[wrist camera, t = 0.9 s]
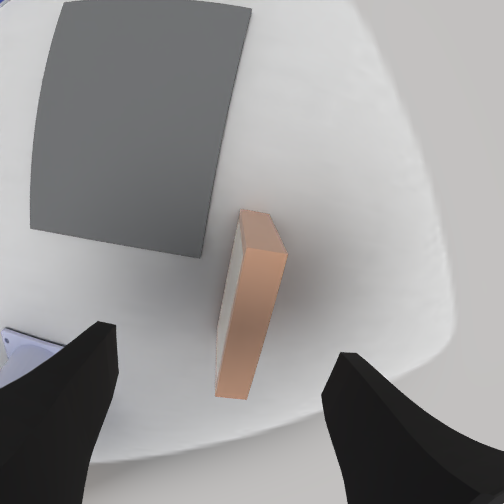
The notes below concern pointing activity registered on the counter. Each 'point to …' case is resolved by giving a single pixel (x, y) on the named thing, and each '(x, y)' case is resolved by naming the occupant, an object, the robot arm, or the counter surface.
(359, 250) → the counter surface
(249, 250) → the tile
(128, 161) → the mat
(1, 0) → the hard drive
